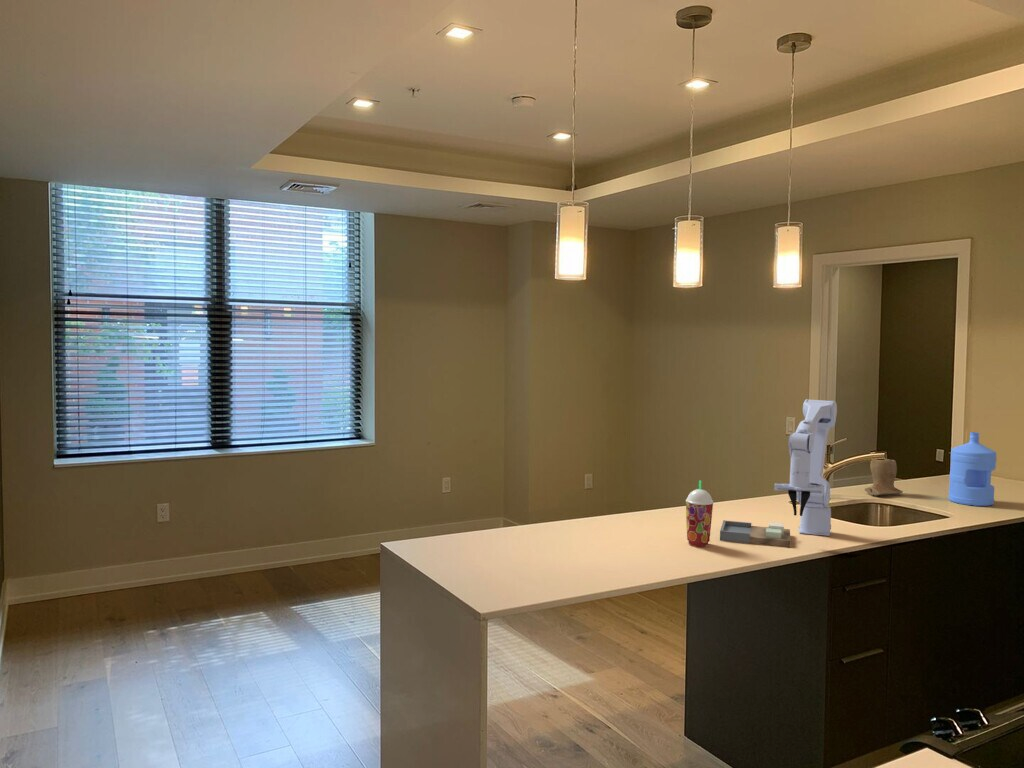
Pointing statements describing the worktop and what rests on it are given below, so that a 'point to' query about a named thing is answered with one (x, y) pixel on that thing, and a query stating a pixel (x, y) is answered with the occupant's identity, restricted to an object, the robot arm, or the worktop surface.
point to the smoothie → (699, 517)
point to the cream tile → (777, 526)
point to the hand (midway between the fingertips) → (798, 515)
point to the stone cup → (883, 478)
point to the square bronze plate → (760, 538)
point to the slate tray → (735, 531)
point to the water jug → (972, 473)
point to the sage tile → (773, 533)
